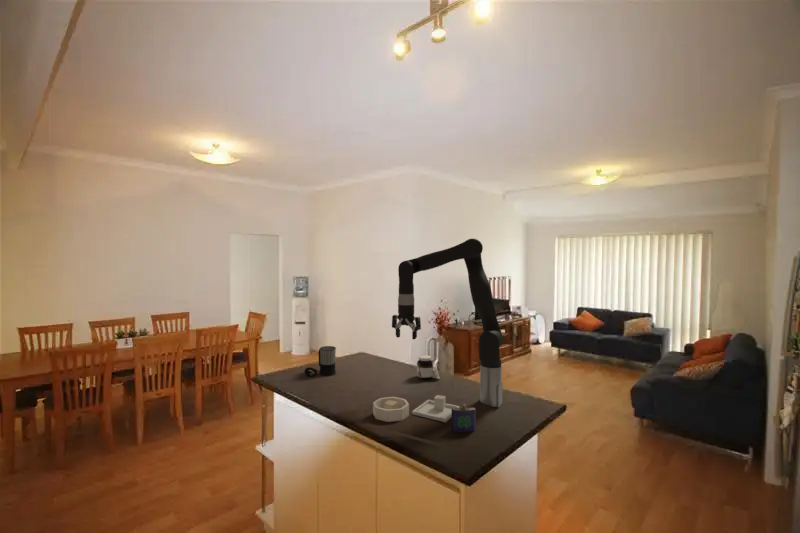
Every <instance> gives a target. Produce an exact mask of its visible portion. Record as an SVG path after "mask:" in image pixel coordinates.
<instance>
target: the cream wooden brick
mask: <svg viewBox="0 0 800 533" xmlns="http://www.w3.org/2000/svg"><path fill="white" fill-rule="evenodd" d="M385 409H388V410H389V409H398V402H396V401H391V400H389V401H387V402H386V403H385Z"/></svg>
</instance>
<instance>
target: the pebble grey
mask: <svg viewBox="0 0 800 533" xmlns="http://www.w3.org/2000/svg"><path fill="white" fill-rule="evenodd" d="M434 396H435V397H433V398H434V399H433V401H434V410H439V411H444V409H445V408H446V402H447V398H446V395H439V394H436V395H434Z"/></svg>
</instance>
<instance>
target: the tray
mask: <svg viewBox="0 0 800 533" xmlns="http://www.w3.org/2000/svg"><path fill="white" fill-rule="evenodd" d="M456 407H457V408H458V407H459V408H461V406H459V405H455V404H450V403H446V408H445V409H444V411H439V410H434V399H433V400H432V399H427V400H425V401H424V402H422V403H421V404H420V405H419V406H417V407H416V408H414V409H413V410H412V412H411V414H412V415H413V416H418V417H423V418H426V419H430V420H435V421H437V422H438V421H439V422H443V423H447V422H448V421H449V420H450V419H452V409H453V408H456Z"/></svg>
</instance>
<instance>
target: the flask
mask: <svg viewBox="0 0 800 533" xmlns="http://www.w3.org/2000/svg"><path fill="white" fill-rule="evenodd" d="M476 411H477V410H476V408H475V407H467V405H466V403H462V406H460V408H459V407H458V408H457V407H456V408H453V409H452V417H451V431H452V432H456V433H457V432H458V433H464V432H465V433H467V432H474V431H477V430H476V429H477V428H476V426H477V424H476V422H477V419H476V416H477V415H476Z"/></svg>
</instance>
